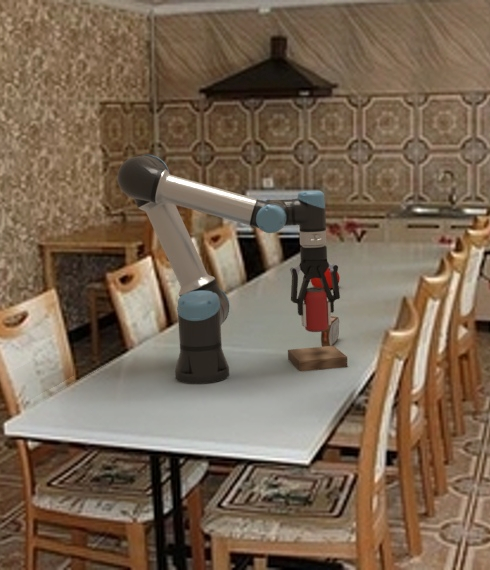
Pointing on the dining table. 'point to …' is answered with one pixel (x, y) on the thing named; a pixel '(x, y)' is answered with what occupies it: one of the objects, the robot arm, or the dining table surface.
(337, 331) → the tin
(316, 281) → the tomato
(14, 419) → the dining table surface
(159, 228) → the robot arm
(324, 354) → the podium
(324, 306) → the beer can
